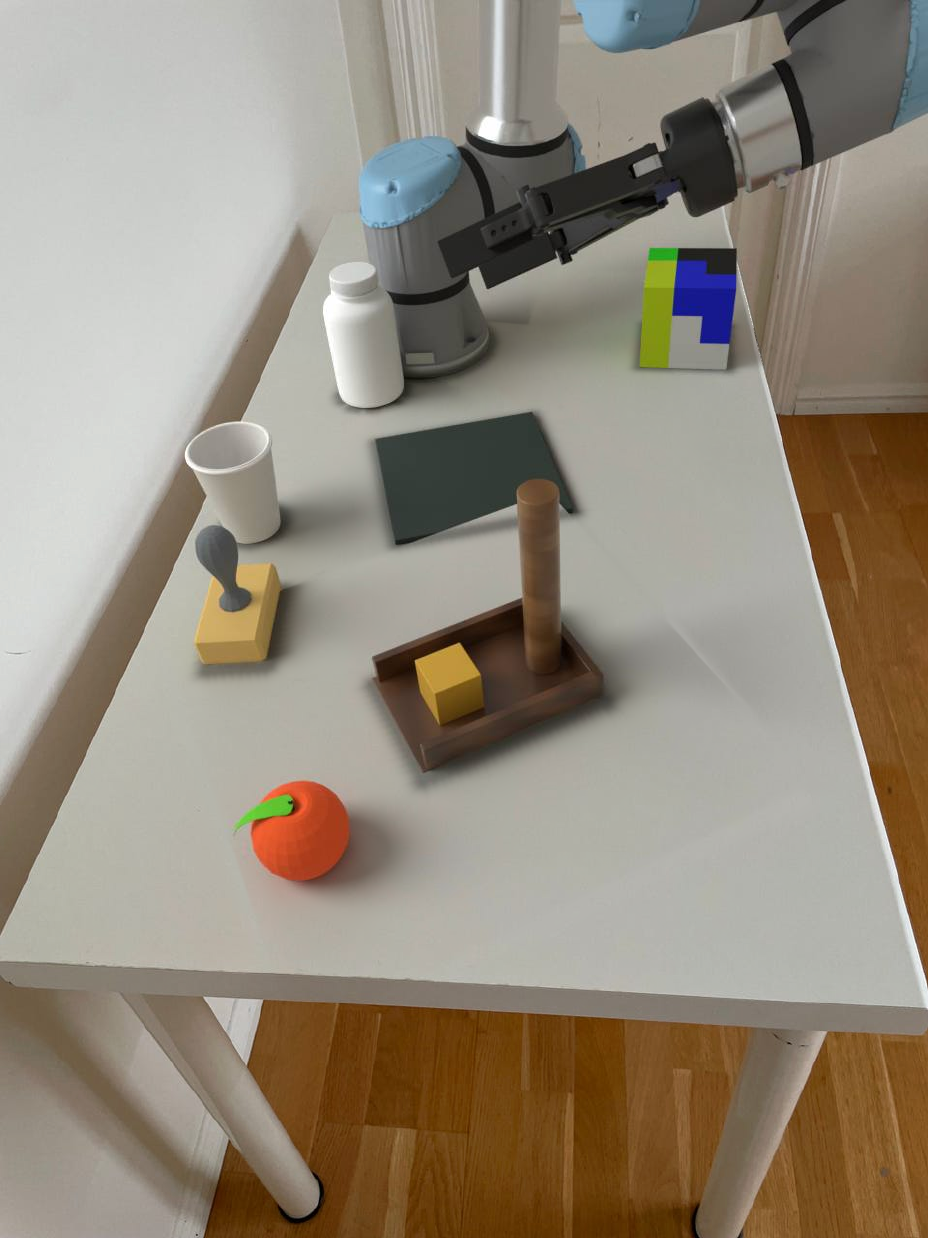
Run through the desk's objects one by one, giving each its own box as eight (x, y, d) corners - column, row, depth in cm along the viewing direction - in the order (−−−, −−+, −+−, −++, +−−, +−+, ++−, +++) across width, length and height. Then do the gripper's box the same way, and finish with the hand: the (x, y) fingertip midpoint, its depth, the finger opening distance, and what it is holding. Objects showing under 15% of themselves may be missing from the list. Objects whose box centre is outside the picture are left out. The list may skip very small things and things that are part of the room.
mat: (375, 442, 105) (375, 438, 105) (532, 415, 106) (532, 411, 106) (395, 544, 93) (394, 540, 92) (572, 512, 94) (572, 508, 93)
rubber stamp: (268, 668, 82) (233, 567, 74) (203, 671, 83) (161, 571, 74) (283, 589, 89) (253, 489, 81) (224, 593, 90) (187, 493, 81)
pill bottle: (415, 377, 114) (398, 257, 104) (390, 413, 109) (370, 291, 99) (355, 371, 117) (333, 253, 106) (328, 406, 111) (302, 286, 101)
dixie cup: (284, 492, 100) (261, 411, 93) (301, 538, 95) (279, 456, 88) (206, 513, 99) (178, 434, 92) (220, 562, 93) (191, 481, 86)
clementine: (250, 912, 66) (223, 859, 61) (247, 829, 71) (222, 774, 66) (362, 887, 67) (345, 833, 62) (351, 806, 72) (334, 750, 66)
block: (463, 674, 79) (459, 642, 76) (484, 707, 76) (481, 674, 73) (420, 692, 78) (414, 660, 75) (439, 726, 75) (434, 694, 72)
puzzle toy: (726, 369, 110) (736, 288, 103) (639, 367, 112) (643, 287, 105) (727, 327, 116) (736, 248, 109) (645, 325, 118) (649, 247, 111)
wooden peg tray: (539, 619, 84) (532, 441, 70) (603, 702, 77) (609, 522, 63) (373, 685, 80) (332, 511, 66) (424, 780, 73) (390, 606, 59)
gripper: (755, 166, 58) (446, 306, 64) (733, 218, 81) (508, 317, 88) (716, 41, 57) (404, 197, 63) (705, 131, 80) (478, 238, 86)
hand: (464, 267), depth 75 cm, fingers open, 13 cm apart
